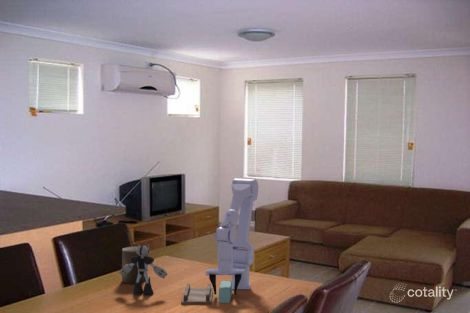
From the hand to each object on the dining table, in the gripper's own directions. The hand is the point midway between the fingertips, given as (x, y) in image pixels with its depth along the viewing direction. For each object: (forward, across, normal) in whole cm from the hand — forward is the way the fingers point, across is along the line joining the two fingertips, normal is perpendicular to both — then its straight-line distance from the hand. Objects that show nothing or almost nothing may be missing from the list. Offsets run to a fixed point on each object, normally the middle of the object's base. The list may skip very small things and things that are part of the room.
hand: (225, 293), depth 191 cm
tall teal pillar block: (+2, 0, 0) cm, 2 cm away
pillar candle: (+2, -39, +22) cm, 45 cm away
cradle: (+1, -10, 0) cm, 11 cm away
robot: (+2, -32, +4) cm, 32 cm away
